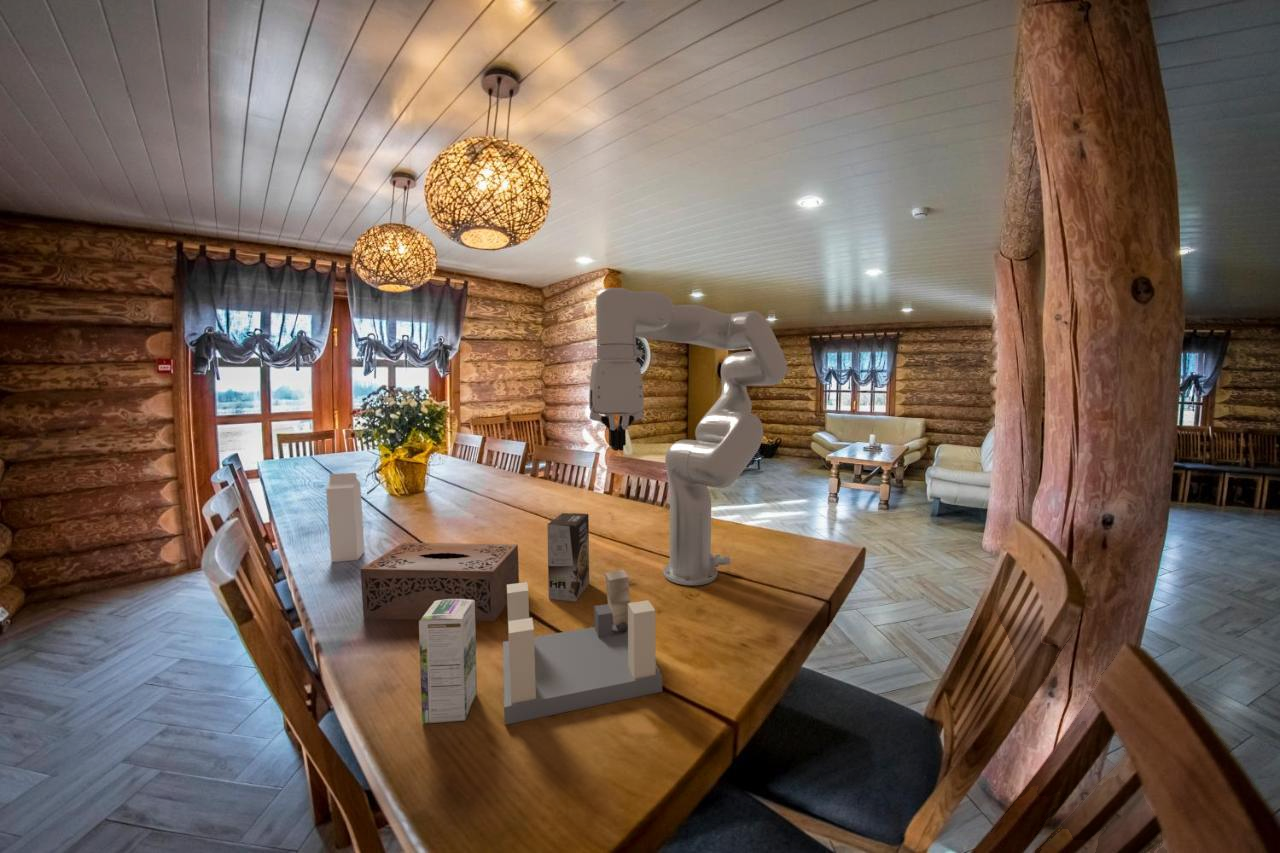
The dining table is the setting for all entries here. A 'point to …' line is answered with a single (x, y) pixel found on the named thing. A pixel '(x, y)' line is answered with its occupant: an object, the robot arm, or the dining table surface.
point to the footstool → (576, 661)
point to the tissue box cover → (439, 579)
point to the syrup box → (448, 660)
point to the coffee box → (568, 556)
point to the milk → (345, 517)
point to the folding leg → (618, 598)
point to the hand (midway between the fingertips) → (617, 449)
